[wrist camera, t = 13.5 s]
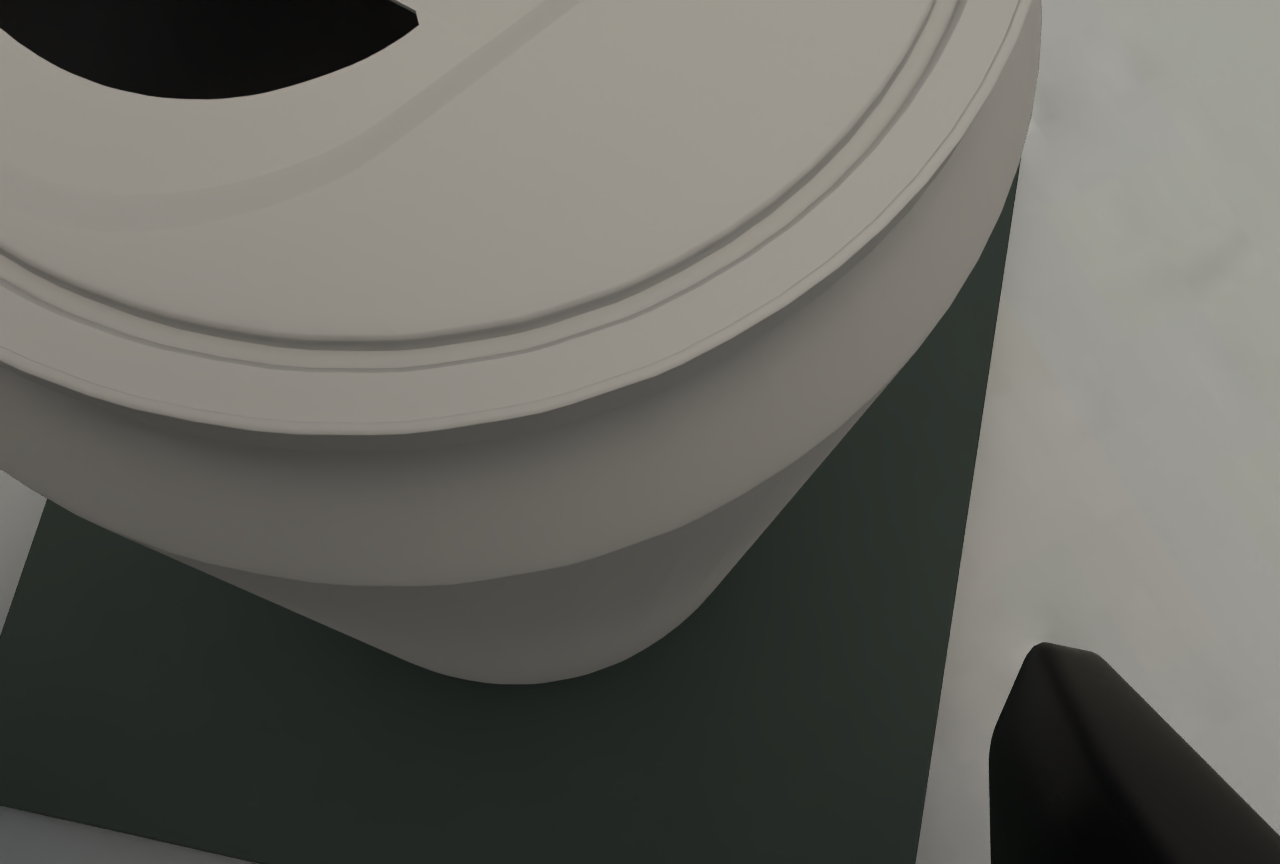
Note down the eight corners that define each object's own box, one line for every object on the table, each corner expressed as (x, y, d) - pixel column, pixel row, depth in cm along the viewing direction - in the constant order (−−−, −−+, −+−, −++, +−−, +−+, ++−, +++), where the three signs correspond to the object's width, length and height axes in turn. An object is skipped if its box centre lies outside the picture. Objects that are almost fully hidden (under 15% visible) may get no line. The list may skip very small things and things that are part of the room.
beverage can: (215, 333, 17) (-657, -605, 5) (641, 158, 18) (741, -984, 6) (392, 772, 15) (-227, 881, 4) (843, 560, 16) (1483, 112, 5)
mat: (-40, 792, 15) (-56, 793, 15) (236, -18, 18) (229, -34, 18) (887, 999, 15) (895, 1006, 15) (1016, 149, 18) (1024, 136, 18)
